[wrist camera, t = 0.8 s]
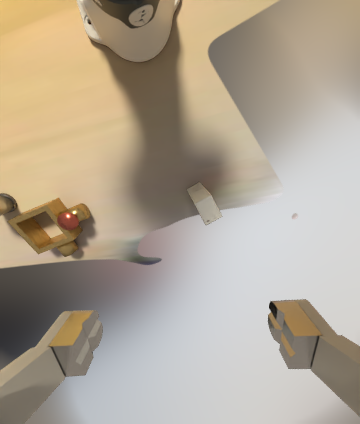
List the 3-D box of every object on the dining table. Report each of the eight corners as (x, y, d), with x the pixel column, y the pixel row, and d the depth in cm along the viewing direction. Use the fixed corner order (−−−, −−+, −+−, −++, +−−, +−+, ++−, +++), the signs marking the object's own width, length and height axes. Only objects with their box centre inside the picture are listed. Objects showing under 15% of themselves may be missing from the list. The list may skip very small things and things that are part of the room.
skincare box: (209, 199, 48) (223, 217, 37) (195, 206, 49) (205, 226, 38) (199, 180, 46) (211, 194, 35) (185, 188, 46) (193, 204, 35)
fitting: (23, 212, 44) (2, 223, 38) (76, 190, 43) (62, 198, 38) (58, 253, 50) (45, 268, 44) (106, 234, 49) (98, 247, 43)
